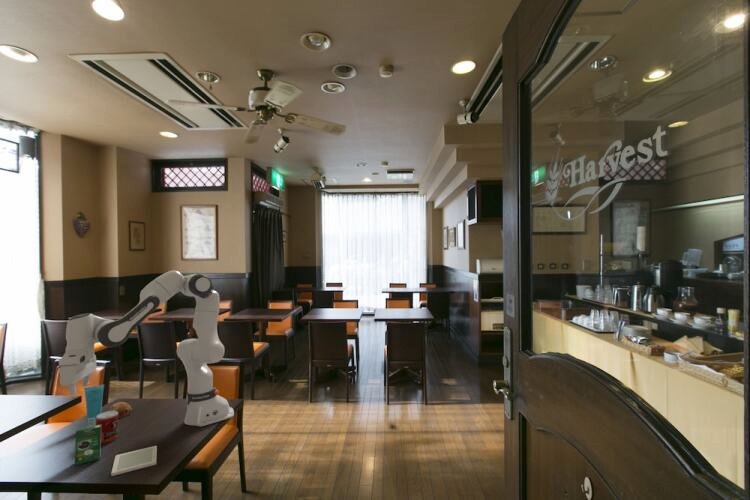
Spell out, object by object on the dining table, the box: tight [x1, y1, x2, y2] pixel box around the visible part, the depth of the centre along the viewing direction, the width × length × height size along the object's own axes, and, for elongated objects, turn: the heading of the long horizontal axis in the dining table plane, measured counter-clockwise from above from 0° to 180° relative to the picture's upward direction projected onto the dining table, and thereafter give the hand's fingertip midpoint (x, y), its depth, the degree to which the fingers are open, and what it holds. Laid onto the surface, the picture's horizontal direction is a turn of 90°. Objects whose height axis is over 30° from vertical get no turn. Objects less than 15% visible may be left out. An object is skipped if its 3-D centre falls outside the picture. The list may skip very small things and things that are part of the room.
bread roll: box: [107, 401, 133, 419], centre depth 180 cm, size 10×10×8 cm
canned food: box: [96, 410, 119, 445], centre depth 155 cm, size 8×8×11 cm
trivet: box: [110, 445, 158, 477], centre depth 138 cm, size 14×14×1 cm
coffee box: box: [74, 424, 102, 466], centre depth 138 cm, size 8×3×13 cm, turn 122°
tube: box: [83, 384, 105, 427], centre depth 167 cm, size 7×5×19 cm, turn 133°
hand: (79, 389), depth 140 cm, fingers open, 8 cm apart
